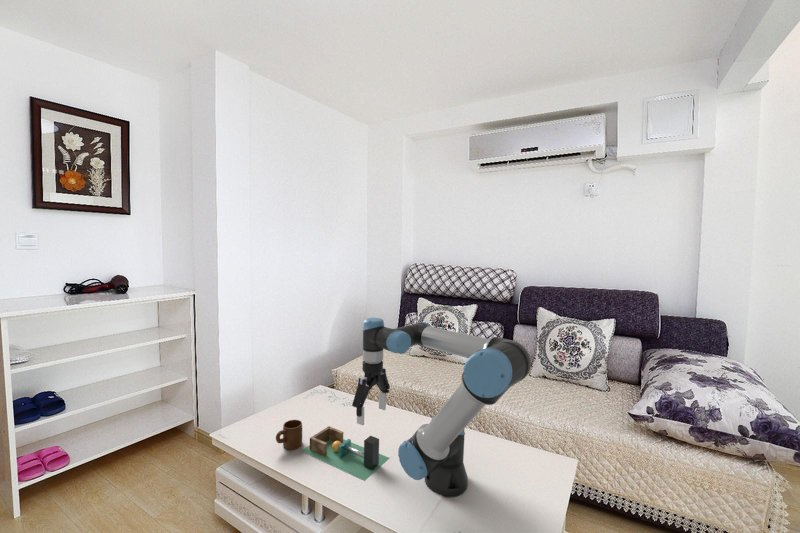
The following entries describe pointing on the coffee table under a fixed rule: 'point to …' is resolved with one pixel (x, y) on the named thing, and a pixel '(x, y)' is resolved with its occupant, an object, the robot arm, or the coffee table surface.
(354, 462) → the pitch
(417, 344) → the robot arm
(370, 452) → the rod
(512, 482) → the coffee table surface
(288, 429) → the mug
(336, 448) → the ball
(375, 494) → the coffee table surface
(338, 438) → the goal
